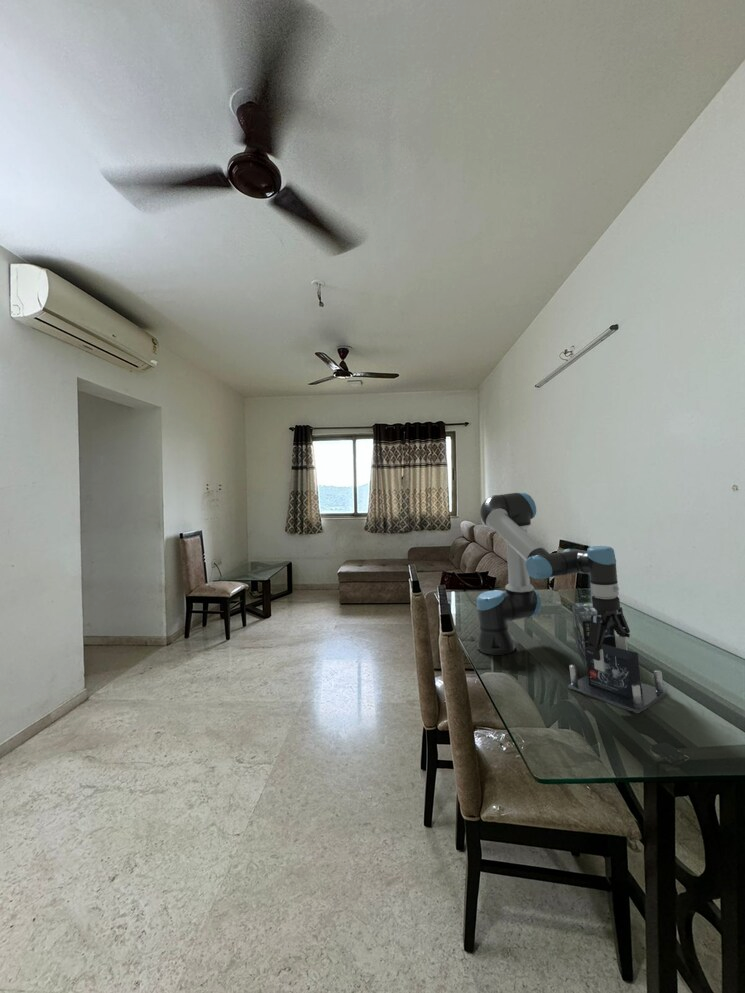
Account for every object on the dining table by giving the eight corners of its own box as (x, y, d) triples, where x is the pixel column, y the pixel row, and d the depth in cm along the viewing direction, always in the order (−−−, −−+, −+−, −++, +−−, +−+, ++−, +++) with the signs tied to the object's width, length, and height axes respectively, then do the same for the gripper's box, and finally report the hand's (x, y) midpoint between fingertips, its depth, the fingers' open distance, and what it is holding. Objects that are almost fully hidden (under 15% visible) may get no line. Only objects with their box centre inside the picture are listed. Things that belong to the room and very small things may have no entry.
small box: (588, 684, 128) (583, 647, 128) (599, 678, 132) (595, 641, 132) (631, 699, 117) (627, 658, 117) (643, 691, 120) (638, 652, 121)
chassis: (568, 688, 129) (566, 666, 129) (597, 672, 138) (595, 652, 138) (638, 714, 111) (635, 689, 111) (667, 693, 120) (664, 670, 120)
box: (620, 675, 135) (614, 619, 135) (588, 674, 138) (581, 619, 138) (604, 649, 157) (598, 601, 157) (576, 649, 160) (570, 602, 160)
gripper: (594, 607, 115) (601, 680, 115) (638, 589, 128) (644, 655, 128) (570, 602, 122) (577, 671, 122) (614, 586, 135) (620, 648, 135)
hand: (611, 663), depth 125 cm, fingers open, 13 cm apart
